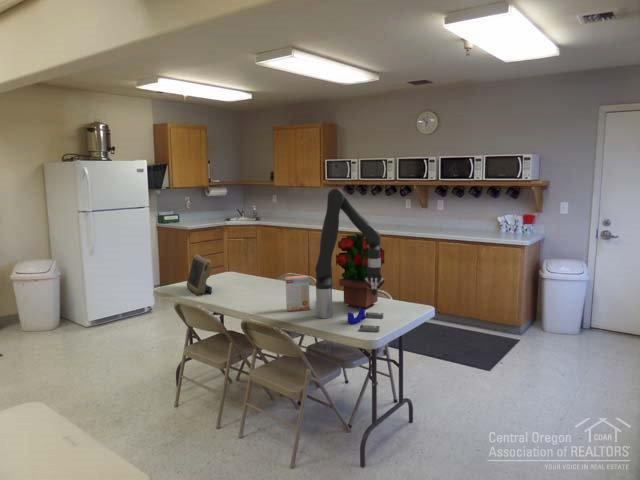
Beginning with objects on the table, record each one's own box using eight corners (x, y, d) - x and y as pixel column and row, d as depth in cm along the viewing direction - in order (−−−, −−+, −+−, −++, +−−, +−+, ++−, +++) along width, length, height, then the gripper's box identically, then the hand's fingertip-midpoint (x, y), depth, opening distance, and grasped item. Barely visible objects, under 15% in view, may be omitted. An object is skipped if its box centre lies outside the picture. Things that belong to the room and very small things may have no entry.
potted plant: (368, 312, 288) (368, 238, 282) (336, 307, 300) (335, 236, 294) (384, 303, 306) (384, 233, 300) (353, 299, 318) (353, 231, 312)
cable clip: (353, 325, 265) (353, 314, 265) (347, 323, 268) (347, 313, 268) (367, 319, 274) (367, 309, 273) (360, 318, 277) (360, 308, 276)
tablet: (182, 288, 360) (180, 255, 356) (200, 285, 367) (198, 253, 364) (197, 297, 333) (195, 261, 330) (216, 293, 341) (215, 259, 337)
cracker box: (308, 307, 301) (307, 274, 298) (310, 310, 295) (309, 276, 292) (286, 309, 299) (285, 276, 296) (287, 311, 293) (286, 278, 290)
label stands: (359, 331, 255) (359, 326, 254) (366, 315, 282) (366, 311, 281) (378, 332, 252) (378, 327, 252) (383, 316, 280) (383, 312, 279)
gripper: (361, 266, 272) (362, 296, 275) (385, 267, 269) (385, 297, 272) (363, 264, 280) (363, 293, 282) (386, 264, 277) (386, 294, 279)
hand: (374, 295), depth 277 cm, fingers closed
